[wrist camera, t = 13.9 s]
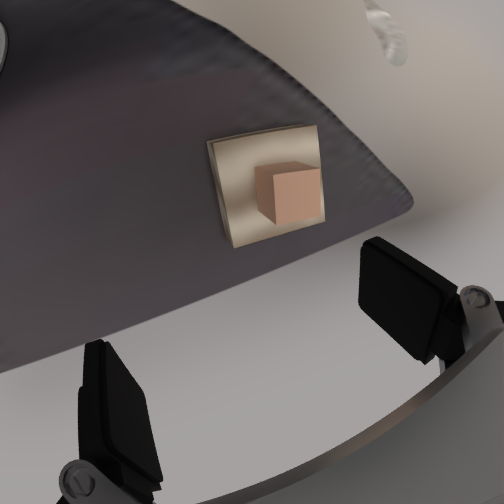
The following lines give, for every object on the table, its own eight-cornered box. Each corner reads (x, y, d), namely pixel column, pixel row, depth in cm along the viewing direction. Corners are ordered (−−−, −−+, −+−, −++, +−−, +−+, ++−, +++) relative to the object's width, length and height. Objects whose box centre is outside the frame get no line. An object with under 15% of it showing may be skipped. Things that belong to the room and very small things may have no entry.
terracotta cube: (254, 166, 31) (273, 174, 27) (296, 161, 32) (319, 168, 28) (258, 210, 33) (276, 225, 29) (298, 203, 35) (320, 216, 30)
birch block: (205, 141, 32) (212, 143, 29) (299, 124, 35) (316, 125, 31) (225, 235, 38) (233, 248, 34) (309, 211, 40) (325, 221, 37)
